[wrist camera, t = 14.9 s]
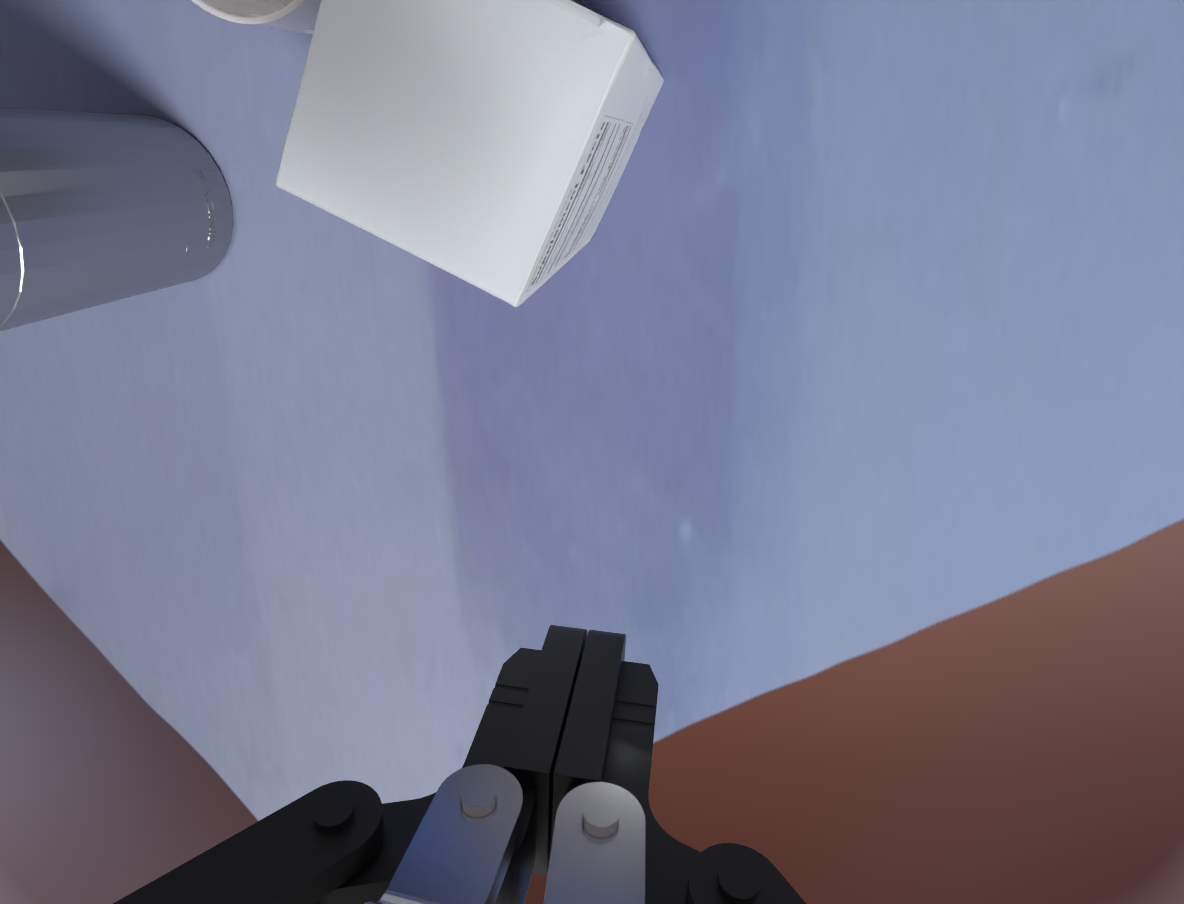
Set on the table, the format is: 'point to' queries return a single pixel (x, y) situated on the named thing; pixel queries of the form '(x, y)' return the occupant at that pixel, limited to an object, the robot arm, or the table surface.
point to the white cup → (267, 13)
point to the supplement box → (469, 129)
